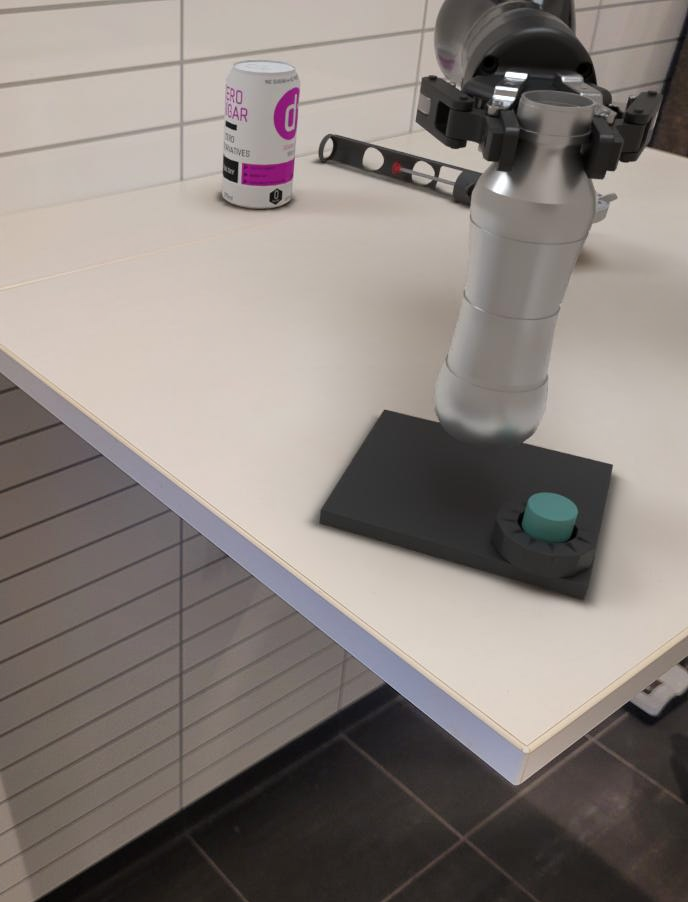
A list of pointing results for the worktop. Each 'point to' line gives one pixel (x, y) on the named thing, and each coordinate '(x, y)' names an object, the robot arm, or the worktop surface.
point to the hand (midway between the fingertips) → (555, 155)
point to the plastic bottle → (518, 275)
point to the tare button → (549, 517)
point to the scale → (469, 501)
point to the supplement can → (260, 133)
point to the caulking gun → (399, 165)
